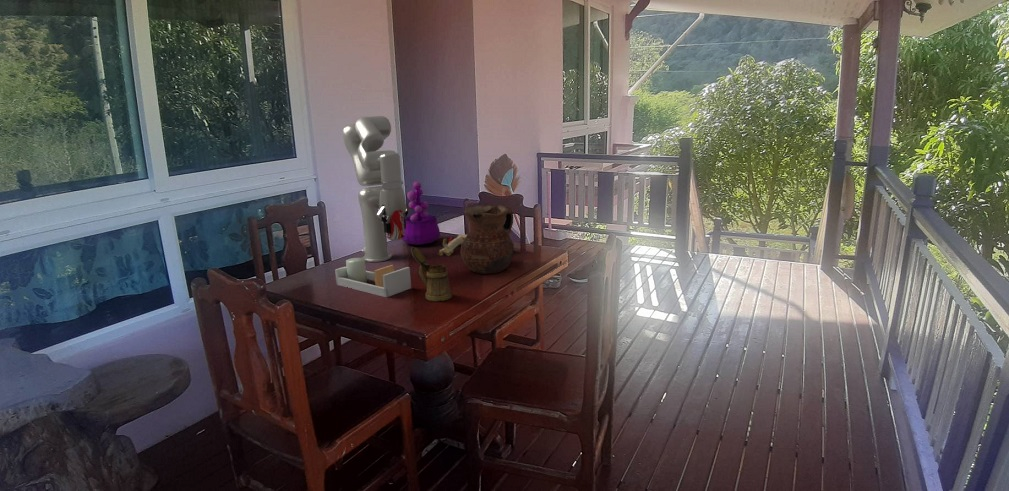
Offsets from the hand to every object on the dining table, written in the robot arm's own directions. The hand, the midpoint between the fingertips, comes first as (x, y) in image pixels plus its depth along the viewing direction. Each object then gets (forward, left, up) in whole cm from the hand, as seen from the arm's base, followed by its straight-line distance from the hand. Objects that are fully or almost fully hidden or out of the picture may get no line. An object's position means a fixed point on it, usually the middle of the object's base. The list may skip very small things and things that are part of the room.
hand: (395, 230), depth 228 cm
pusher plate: (+9, -15, -18) cm, 25 cm away
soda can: (0, 0, -4) cm, 4 cm away
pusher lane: (+3, -15, -18) cm, 24 cm away
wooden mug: (+30, -12, -18) cm, 38 cm away
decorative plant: (-31, +43, -18) cm, 56 cm away
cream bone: (-8, +43, -19) cm, 48 cm away
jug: (+25, +25, -18) cm, 40 cm away
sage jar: (-7, -15, -18) cm, 25 cm away
